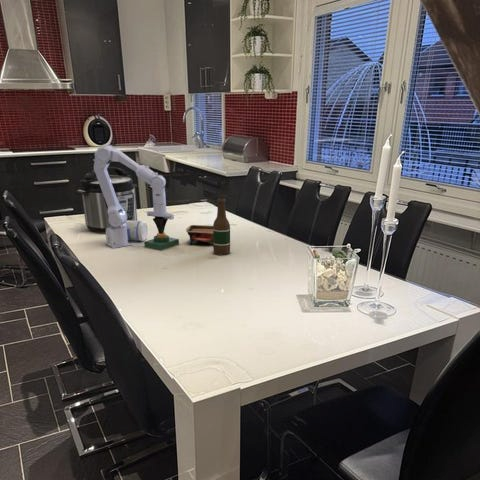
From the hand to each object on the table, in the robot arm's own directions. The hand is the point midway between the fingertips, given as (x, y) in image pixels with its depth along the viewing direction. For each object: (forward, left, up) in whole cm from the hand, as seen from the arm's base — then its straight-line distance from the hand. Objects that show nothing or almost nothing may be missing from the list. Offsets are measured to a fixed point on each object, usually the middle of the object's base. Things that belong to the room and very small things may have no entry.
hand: (161, 233), depth 217 cm
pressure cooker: (-4, +46, -6) cm, 46 cm away
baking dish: (+20, -7, -6) cm, 22 cm away
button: (0, 0, -2) cm, 2 cm away
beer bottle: (+16, -26, -6) cm, 31 cm away
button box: (0, 0, -6) cm, 6 cm away
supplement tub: (-2, +13, -1) cm, 13 cm away
